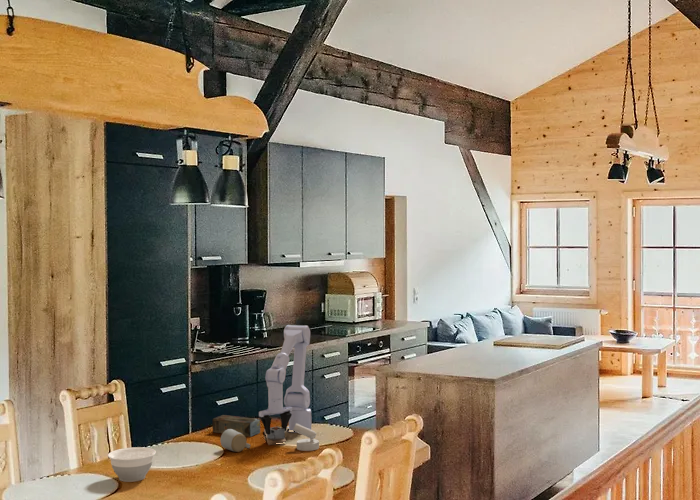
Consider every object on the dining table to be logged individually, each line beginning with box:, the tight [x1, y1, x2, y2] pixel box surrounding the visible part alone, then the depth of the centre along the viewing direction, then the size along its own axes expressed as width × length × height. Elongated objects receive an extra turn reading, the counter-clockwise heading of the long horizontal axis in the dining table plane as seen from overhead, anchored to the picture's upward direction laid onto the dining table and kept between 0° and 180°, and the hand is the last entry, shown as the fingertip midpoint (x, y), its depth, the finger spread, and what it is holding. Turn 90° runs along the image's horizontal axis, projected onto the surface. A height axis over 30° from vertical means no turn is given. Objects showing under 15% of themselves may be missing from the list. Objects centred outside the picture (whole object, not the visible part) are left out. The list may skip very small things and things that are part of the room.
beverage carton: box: [212, 414, 261, 438], centre depth 349 cm, size 8×19×7 cm, turn 64°
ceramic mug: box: [219, 429, 251, 453], centre depth 322 cm, size 11×8×8 cm
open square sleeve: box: [267, 425, 286, 441], centre depth 334 cm, size 5×5×4 cm
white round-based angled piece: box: [293, 423, 320, 452], centre depth 324 cm, size 9×10×10 cm
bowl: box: [107, 446, 157, 483], centre depth 286 cm, size 16×16×8 cm
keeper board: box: [263, 426, 287, 446], centre depth 340 cm, size 7×22×6 cm, turn 10°
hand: (275, 432), depth 334 cm, fingers open, 7 cm apart
